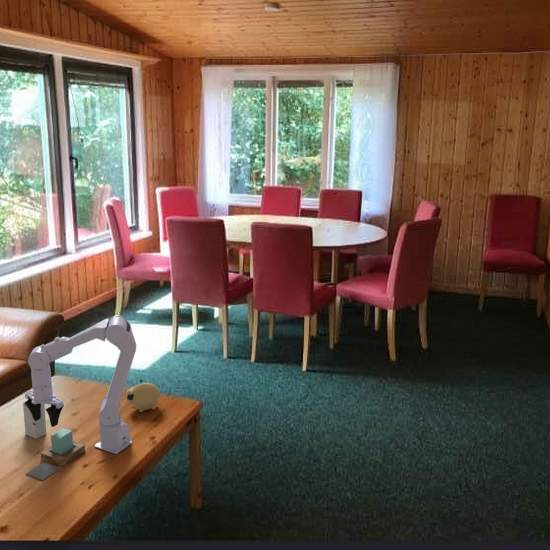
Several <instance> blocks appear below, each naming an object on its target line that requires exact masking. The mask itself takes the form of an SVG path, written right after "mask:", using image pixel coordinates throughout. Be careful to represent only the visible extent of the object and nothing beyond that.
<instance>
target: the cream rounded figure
mask: <svg viewBox="0 0 550 550" xmlns="http://www.w3.org/2000/svg"><path fill="white" fill-rule="evenodd" d="M160 395H161V394H160V391H159V388H158V386H157V385H155V384H154V383H152V382H142V383H139V384H137V385H134V386H130V387H129V388H128V389H127V390H126V393H125V399H126V401H127V403H128V404H130V405H133V406H134V407H135V408H136V409H137V410H138V411H139V413H140V412H142V413H144V411H147V410H156V408H157V407H156V406H157V404H158V403H159V400H160Z"/></svg>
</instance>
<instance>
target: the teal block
mask: <svg viewBox="0 0 550 550" xmlns="http://www.w3.org/2000/svg"><path fill="white" fill-rule="evenodd" d="M73 441H74V440H73V431H72V430H70V429H67V428H64V427H62V428H60V429H59V430H56V431H55V432H54V433H52V434H50V442H51V446H52V453H54V454H57V455H59V456H63V455H64V454H66V453H67V452H69V451H70V450H72V449H73Z"/></svg>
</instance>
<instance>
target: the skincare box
mask: <svg viewBox="0 0 550 550" xmlns="http://www.w3.org/2000/svg"><path fill="white" fill-rule="evenodd" d="M26 401H27V400H25V401H23V402H22V407H23V419H24V420H23V422H24V432H25V435H27V436H29V437H31V438H33V439H35V440H36V439H39V438H41V437H44V435H47V423H46V408H45V407H46V406H45V405H46V404H41V419H39V420H37V421H34V419H33V417H32V414H31V412H30V410H29V409H28V407H27V406H26V405H25V402H26Z"/></svg>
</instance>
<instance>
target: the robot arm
mask: <svg viewBox="0 0 550 550" xmlns="http://www.w3.org/2000/svg"><path fill="white" fill-rule="evenodd" d="M96 339H97V340H99V341H101V342H106V340H107V341H108V342H109V343H110V344H111V345H113V346H115V347H116V348H118V350H119V351H120V352H119V356H118V358H117V361H116V365H115V368H114V371H113V374H112V377H111V382H110V384H109V388H108V391H107V392H106V395H105V397H104V398H103V399H102V400H101V402H100V409H99V413H98V428H99V440H100V441H99V442H97V443H96V444H94V447H95V448H97V449H100V450H103V451H106V452H109V453H111V454H114V455H118V454H119V453H120V452H121V451H123V450H124V449H126V448H127V447H129V446H130V445H132V444H133V441H132V440H131V429H130V425H129V424H128V423H126V422H125V421H124V420H123V419H122V418H123V417H122V415H121V414H120V408H121V400H122V396H123V393H124V390H125V387H126V383H127V380H128V378H129V373H130V371H131V367H132V364H133V362H134V361H133V360H134V358H135V355H136V352H137V342H136V339H135V336H134V333H133V330H132V326H131V323H130V322H129V321H128V320H127V319H126V317H125V316H123V315H118V314H117V315H113V316H111V317H110V318H104V319H103V320H101V321H99V322H97V323H95V324H93V325H92V326H89V327H88V328H86V329H85V330H82V331H80V332H78V333H76V334H74V335H73V336H71V337H67V336H62V337H60V336H57V337H54V340H53V341H51V342H48V343H47V344H44V343H42V344H41V345H38V346H35V347H34V348H33V349H32V351H31V352H30V355H29V356H28V358H27V363H28V365H29V367H30V371H31V372H30V373H31V374H30V375H31V384H32V390H27V391H26V392H24V396H25V397H24V398H25V399H26V400H25V401H26V402H25V401H24V402H25V405H26V406H27V407H28V409H29V410H30V412H31V414H32V417H33V419H34V421H37V420H39V419H41V404H45V405H50V406H49V407H47V408H45V412H46V413H47V415H48V418H49V423H50V426H51V428H54V427H56V426H58V425H59V421H60V420H59V419H60V416H61V413H62V411H63V409H64V407H65V404H64V402H63V400H61V399H60V398H59V397H57V396H56V394H54V391H53V382H52V381H53V380H52V372H51V365H50V363H52V362H55V361H57V360H59V359H61V358H63V357H66V356H68V355H70V354H71V353H73V350H74V348H76V347H78V346H81V345H83V344H86V343H88V342H91V341H93V340H96Z"/></svg>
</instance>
